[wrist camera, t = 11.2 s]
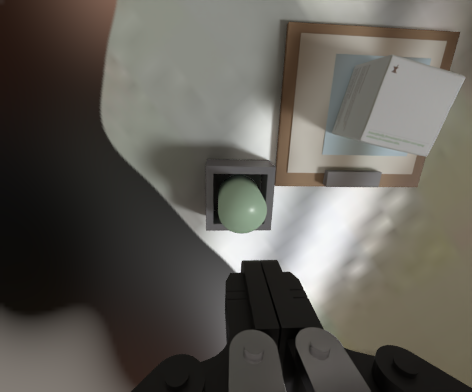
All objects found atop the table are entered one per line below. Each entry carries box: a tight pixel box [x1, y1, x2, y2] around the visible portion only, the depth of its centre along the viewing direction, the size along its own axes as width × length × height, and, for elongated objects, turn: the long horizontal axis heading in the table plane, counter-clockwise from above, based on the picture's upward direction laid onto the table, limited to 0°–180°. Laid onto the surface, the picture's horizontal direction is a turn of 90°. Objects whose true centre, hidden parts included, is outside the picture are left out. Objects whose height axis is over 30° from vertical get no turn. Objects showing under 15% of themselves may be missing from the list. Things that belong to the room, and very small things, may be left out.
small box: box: [332, 55, 465, 157], centre depth 19 cm, size 6×6×5 cm
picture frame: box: [274, 22, 460, 187], centre depth 21 cm, size 14×13×1 cm
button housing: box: [206, 159, 276, 230], centre depth 22 cm, size 6×6×3 cm
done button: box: [218, 174, 267, 233], centre depth 20 cm, size 4×4×4 cm
